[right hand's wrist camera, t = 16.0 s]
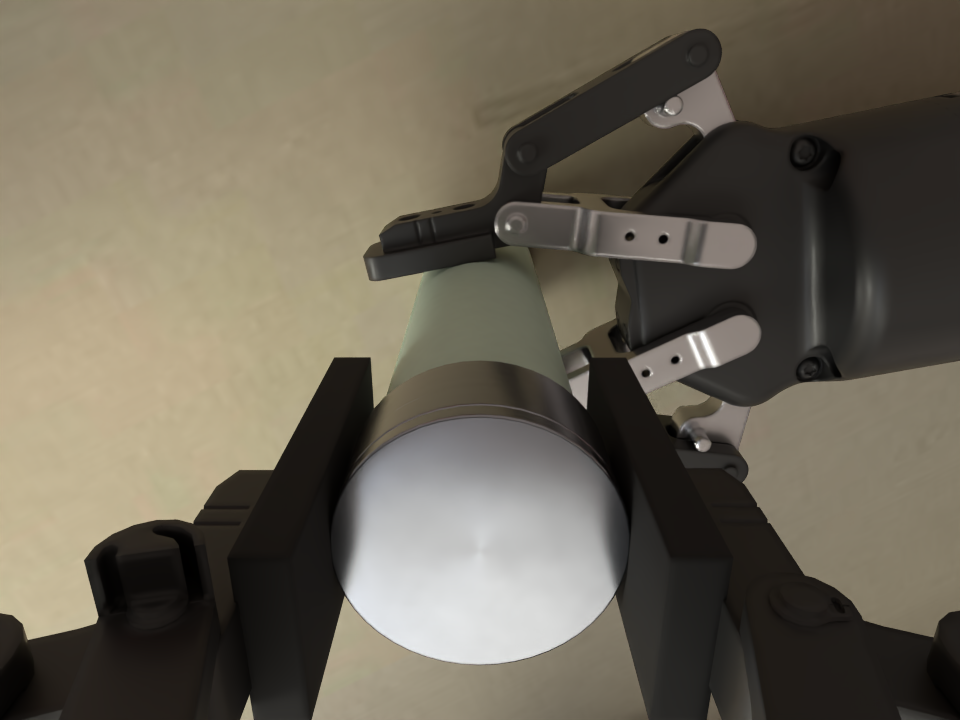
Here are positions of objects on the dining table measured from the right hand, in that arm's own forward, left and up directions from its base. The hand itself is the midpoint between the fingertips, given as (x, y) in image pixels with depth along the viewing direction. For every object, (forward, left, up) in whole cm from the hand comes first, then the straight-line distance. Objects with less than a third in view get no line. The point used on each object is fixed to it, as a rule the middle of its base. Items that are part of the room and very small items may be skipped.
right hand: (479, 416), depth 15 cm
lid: (0, 0, +4) cm, 4 cm away
